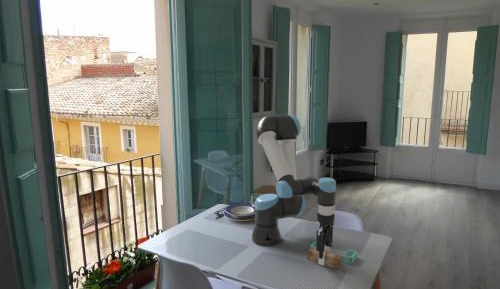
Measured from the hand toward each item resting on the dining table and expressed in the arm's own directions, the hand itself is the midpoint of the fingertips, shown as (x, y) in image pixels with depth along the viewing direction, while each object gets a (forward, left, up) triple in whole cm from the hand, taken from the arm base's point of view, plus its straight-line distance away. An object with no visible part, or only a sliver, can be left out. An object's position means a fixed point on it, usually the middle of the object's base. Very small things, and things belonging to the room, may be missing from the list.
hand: (323, 262), depth 160 cm
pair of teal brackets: (0, +10, 0) cm, 10 cm away
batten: (0, 0, -1) cm, 1 cm away
